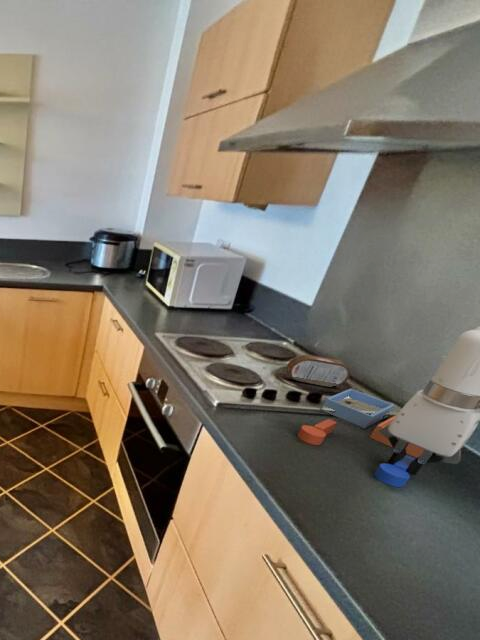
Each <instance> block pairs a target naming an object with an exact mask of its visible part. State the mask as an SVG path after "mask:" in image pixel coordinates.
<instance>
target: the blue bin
mask: <svg viewBox="0 0 480 640" xmlns="http://www.w3.org/2000/svg"><path fill="white" fill-rule="evenodd" d="M348 396H349V397H350V398H352V399H355V400H358V401H361V402H364V403H367V404H370V405H373V406H376V407H379V408H382V409H381V410H379V411H377V412H375V413H373V414H371V415H369V414H366V413H364V412H361V411H359V410H356V409H354V408H351V407H349V406H346V405H344V404H341V403H339V402H337V401H340V400H342V399H344V398H346V397H348ZM322 406H326V407H328V408H331V409H333V410H335V411H336V412H335V414H334V413H332V412H329V411H327V410H324V409H321V408H320V411H322V412H324V413H327V414H329V415H332V416H334V417H336V418H339V419H341V420H343V421H346V422H348V423H350V424H352V425H355V426H358V427H360V428H363V429H367V428H369V427H370V426H373V425H374V424H376V423H378V422H380V421H382V420H383V419H385V418H388V416H385V417H384V418H383V416H384V415H385V414H387V413H389V412H390V411H391V412H392V410H393V409H394V408H395V406H396V404H394V403H392V402H389V401H385V400H384V399H383V400H382V399H380V398H378V397H375V396H372V395H369V394H366V393H365V392H361V391H359V390H356V389H354V388H348V389H346V390H343V391H341V392H339V393H336V394H334V395H331V396H329V397H327V398H326V399H325V401H324V403H323V404H322ZM391 412H390V413H391Z"/></svg>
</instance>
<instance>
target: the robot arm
mask: <svg viewBox="0 0 480 640" xmlns="http://www.w3.org/2000/svg"><path fill="white" fill-rule="evenodd" d="M396 415H397V416H396V417H395V418H394V420H393V421H392V422H391V424H389V425H387V426H386V427H384V428H382V429H381V430H380V433H381V434H382V435H384V436H385V437H386V438H388V439H389V441H390V443H391V445H392V447H391V448H393V449H392V450H393V453H392V455H391V456H390V457H389V459H387V462H386V464H391V465H394V464H395V463H396V462H398V461H399V460H401V459H402V458H404V457H405V456H406V455H407V454H406V447H407V446H408V444H409V443H411V444H414V445H416V446H419V447H421V448H423V449H425V450H424V452H423V453H422V454H421V456H419V457H418V458H416V457H415V460H413V461H412V462H411V464H410V465H409V467H408V469H407V470H406V472H407V473H408V474H409V475H410V476H411V475H413V476H416V475H417V474H418V473H419V472H420V470H421V469H422V468H423V466H424V465H425V464H430V463H439V462H440V463H441V462H442V463H446V464H452V465H458V464H459V463H460V462H461V460H462V449H463V448H464V447H465V445H466V444H467V442H468V441H469V439H470V438H471V437H472V435H473V434H474V432H475V430H476V429H477V426H479V423H480V325H479V326H477V327H476V328H475V329H470V330H466V331H464V332H463V333H461V334H460V335H459V337H458V338H457V339H456V340H455V343H454V344H453V345H452V346H451V348H450V349H449V351H448V353H447V355H446V356H445V357H444V359H443V361H442V362H441V364H440V365H439V367H438V368H437V369H436V371H435V372H434V374H433V375H432V378H430V380H429V381H428V383H427V384H426V386H425V387H424V389H420V390H418V391H417V392H416V393H415V394H414V395H412V397H411V398H410V399H408V401H407V402H406V403H405V404H404V405H403V406H402V408H401V409H400V410H399V412H398V413H397V414H396Z"/></svg>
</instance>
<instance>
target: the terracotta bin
mask: <svg viewBox="0 0 480 640" xmlns="http://www.w3.org/2000/svg"><path fill="white" fill-rule="evenodd" d="M396 416H397V414H395V415H393V416H391V417H390V418H388V419H386V420H384V421H382V422H381V423H379V424H377V425H376V426H375V428H374V430H373V431H372V433H371V434H370V436H369V438H370V439H372V440H374V441H376V442H379V443H382V444H384V445H385V446H389V447H391V448H393V447H392V445H391V443H390V441H389V439H388V438H386V437H385V436H384V435H382V434H381V433H380V430H381V429H382V428H384V427H386V426H387V425H389V424H391V422H392V421H393V420H394V418H395V417H396ZM424 450H425V449H423V448H421V447H419V446H416V445H414V444H411V443H409V444H408V446H407V447H406V455H408V456H411V457H413V458H415V459H416V458H418V457H419V456H421V454H422V453H423V452H424Z"/></svg>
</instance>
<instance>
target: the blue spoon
mask: <svg viewBox="0 0 480 640" xmlns="http://www.w3.org/2000/svg"><path fill="white" fill-rule="evenodd" d="M415 459H416V457H413V456H411V455H409V454H406V455H405V456H404V458H402V459H401V460H399V461H398V462H396V463H395V464H394V465H391V464H389V463H387V462H386V463H385V462H384V463H383V462H382V463H380V464H379V465H378V466H377V468H376V470H375V471H374V473H373V476H374V477H375V479H377V480H378V481H380V482H381V483H383V484H386V485H388V486H391V487H393V488H404V487H405V485H406V483H407V482H408V481H409V479H410V478H411V475H409V474H408V473H407V472H406V470H407V469H408V467H409V465H410V464H411V462H412V461H413V460H415Z"/></svg>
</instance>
